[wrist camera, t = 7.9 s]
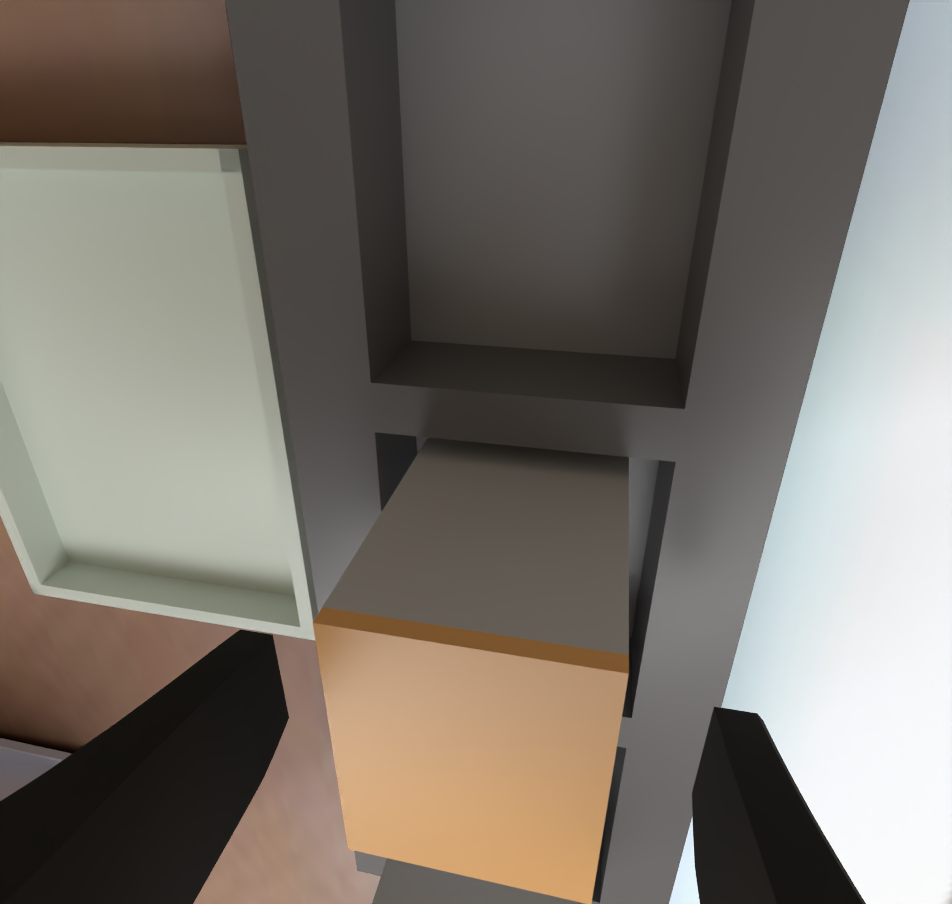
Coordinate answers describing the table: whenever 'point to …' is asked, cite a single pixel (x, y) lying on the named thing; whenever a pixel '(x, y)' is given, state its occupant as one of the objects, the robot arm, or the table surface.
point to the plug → (484, 665)
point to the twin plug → (448, 888)
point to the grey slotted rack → (566, 288)
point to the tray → (146, 387)
